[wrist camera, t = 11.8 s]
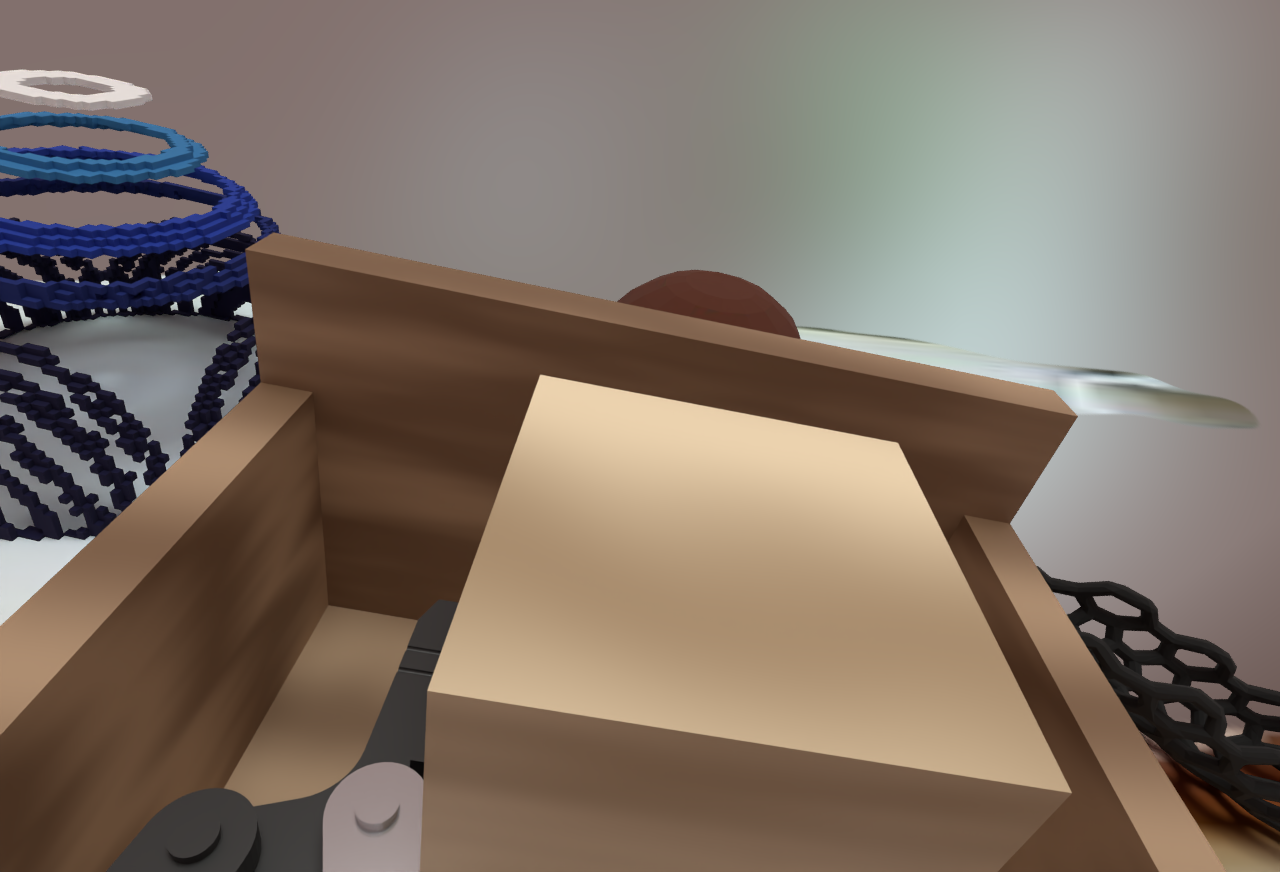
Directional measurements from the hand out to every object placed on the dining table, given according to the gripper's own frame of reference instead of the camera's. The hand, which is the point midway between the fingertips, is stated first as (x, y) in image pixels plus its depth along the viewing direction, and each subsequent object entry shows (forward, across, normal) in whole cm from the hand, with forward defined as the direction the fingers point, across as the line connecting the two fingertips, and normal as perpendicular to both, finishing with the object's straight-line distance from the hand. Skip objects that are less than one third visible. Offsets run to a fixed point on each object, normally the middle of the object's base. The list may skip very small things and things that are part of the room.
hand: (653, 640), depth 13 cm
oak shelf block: (-3, 0, +7) cm, 8 cm away
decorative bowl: (+20, +24, +12) cm, 34 cm away
